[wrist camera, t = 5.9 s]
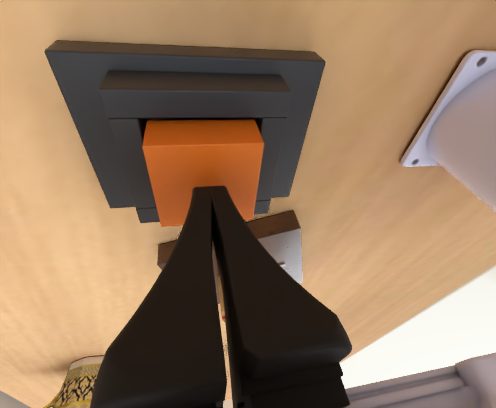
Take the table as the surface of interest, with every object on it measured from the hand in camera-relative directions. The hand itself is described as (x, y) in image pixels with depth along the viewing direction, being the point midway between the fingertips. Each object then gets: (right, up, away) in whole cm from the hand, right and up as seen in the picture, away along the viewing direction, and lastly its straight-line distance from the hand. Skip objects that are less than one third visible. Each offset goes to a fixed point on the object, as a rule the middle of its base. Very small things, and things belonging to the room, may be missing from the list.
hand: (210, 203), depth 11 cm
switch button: (-1, +2, +2) cm, 3 cm away
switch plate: (-1, +4, +4) cm, 6 cm away
